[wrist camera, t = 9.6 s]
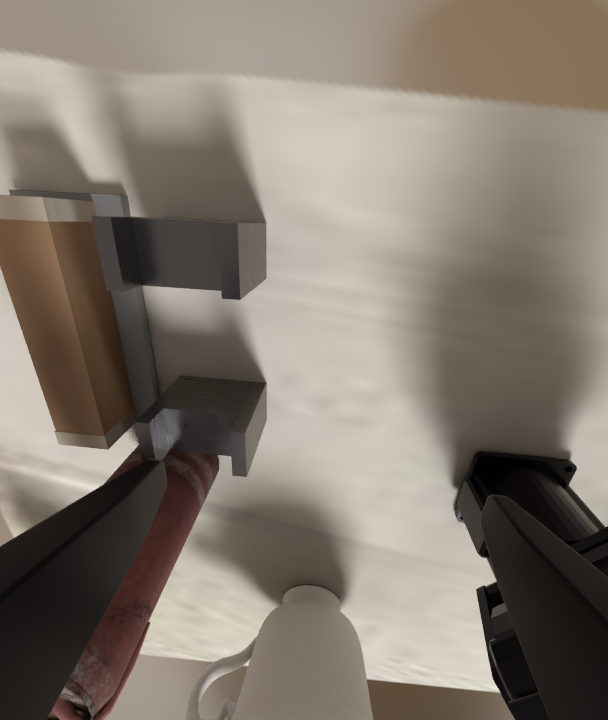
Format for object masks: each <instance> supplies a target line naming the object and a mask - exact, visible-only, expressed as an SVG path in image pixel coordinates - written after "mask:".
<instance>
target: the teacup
mask: <svg viewBox="0 0 608 720" xmlns="http://www.w3.org/2000/svg"><path fill="white" fill-rule="evenodd" d="M340 610H341V605H340V601H339V599H338V597H337V596H336V595H335V594H333V593H332V592H331V591H329V590H327V589H325V588H322V587H319V586H315V585H301V586H296V587H293V588H291V589H289V590H288V591H287V592H286V593H285V594H284V596H283V600H282V605H280V606H279V607H277V608H275V609H274V610H273V611H272V612H271V613H270V614H269V615H268V616H267V618H266V619H265V621H264V622H263V624H262V627H261V629H260V631H259V634H258V636H257V637H256V638H255V639H254V640H253V641H252V643H251V644H250V645H249V646H248V647H247V648H246V649H244V650H243V651H242V652H240V653H238V654H236V655H233V656H230V657H226V658H222V659H220V660H218V661H216V662H214V663H213V664H211V665H210V666H208V667H207V668H206V669H205V670H204V672H202V674H201V675H200V677H199V678H198V679H197V681H196V683H195V684H194V686H193V689H192V691H191V694H190V697H189V701H188V707H187V714H186V720H203V719H201V717H200V716H199V711H198V708H199V702H200V699H201V697H202V695H203V693H204V691H205V690H206V689H207V687H208V686H209V685H210V684H211V683H212V682H213V681H214V680H215V679H216V678H218V677H219V676H221V675H224V674H226V673H229V672H232V671H234V670H236V669H238V668H240V667H241V666H243V665H244V664H245V663H246V662H247V661H248V660H249V659H250V658H251V659H250V662H249V666H248V669H247V672H246V676H245V679H244V684H243V686H242V690H241V693H240V696H239V699H238V702H237V704H233V703H231V702H230V700H229V699H228V698H226V699H224V701H223V702H222V704H221V706H220V709H219V711H218V713H217V715H216V716H215V717H214V718H213V719H212V720H224V718H225V716H226V715H227V716H228V720H373V716H372V711H371V705H370V698H369V692H368V686H367V679H366V672H365V666H364V660H363V655H362V650H361V645H360V642H359V638H358V635H357V632H356V630H355V628H354V626H353V625H352V623H351V622H350V620H349V619H348V618H347V617H346V616H345V615H344V614H342V613H341V612H340Z"/></svg>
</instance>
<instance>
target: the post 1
mask: <svg viewBox="0 0 608 720" xmlns="http://www.w3.org/2000/svg"><path fill="white" fill-rule="evenodd" d="M91 217H92V222H93V226H94V231H95V236H96V241H97V246H98V250H99V255H100V260H101V265H102V269H103V274H104V279H105V284H106V289H107V291H121V292H125V291H128V290H131V289H134V288H137V287H140V286H143V285H145V286H160V287H175V288H189V289H204V290H219V291H222V299H237V300H241V299H242V298H243V297H244V296H245V295H247V294H248V293H249V292H250V291H252V290H253V289H254V288H255V287H257V286H258V285H259V284H260V283H261V282H263V281H264V280H265V279H266V223H256V222H237V221H218V220H199V219H180V218H161V217H122V216H91Z"/></svg>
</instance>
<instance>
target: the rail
mask: <svg viewBox="0 0 608 720" xmlns="http://www.w3.org/2000/svg"><path fill="white" fill-rule="evenodd" d="M91 216H97V215H96V210H95V205H94V201H82V200H70V199H58V198H46V197H29V196H8V195H0V267H1V270H2V273H3V276H4V279H5V282H6V285H7V288H8V291H9V294H10V296H11V299H12V302H13V305H14V308H15V311H16V314H17V317H18V320H19V323H20V326H21V329H22V332H23V335H24V338H25V341H26V344H27V347H28V350H29V353H30V356H31V359H32V362H33V365H34V367H35V370H36V373H37V376H38V379H39V382H40V385H41V388H42V391H43V394H44V397H45V400H46V403H47V406H48V409H49V412H50V415H51V418H52V421H53V424H54V427H55V430H56V431H55V434H56V437H57V440H58V443H59V444H60V445H70V446H80V447H89V448H99V449H109V448H110V447H111V446H112V445H113V444H114V443H115V442H116V441H117V440H118V439H119V438H120V437H121V436H122V435H123V434H124V433H125V432H126V431H127V430H128V429H129V428H130V427H131V426H132V425H133V424H134V422H135V421H136V420H137V419H138V416H137V411H136V408H135V407H134V402H133V397H132V392H131V388H130V383H129V378H128V373H127V368H126V363H125V358H124V354H123V349H122V344H121V339H120V334H119V329H118V324H117V319H116V315H115V310H114V305H113V300H112V295H111V291H107V289H106V284H105V279H104V274H103V269H102V265H101V260H100V255H99V250H98V246H97V241H96V236H95V231H94V226H93V222H92V217H91Z"/></svg>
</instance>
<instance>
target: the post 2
mask: <svg viewBox="0 0 608 720" xmlns="http://www.w3.org/2000/svg"><path fill="white" fill-rule="evenodd" d="M266 420H267V411H266V383H257V382H245V381H233V380H222V379H210V378H199V377H187V376H180V377H179V378H178V379H177V380H176V381H175V382H174V383H173V384H172V385H171V386H170V387H169V388H168V389H167V390H166V391H165V392H164V393H163V394H162V395H161V396H160V397H159V398H158V399H157V400H156V401H155V402H154V403H153V404H152V405H151V406H150V407H149V408H148V409H147V410H146V411H145V412H144V413H143V414H142V415H141V416H140V417H139V418H138V419H137V420H136V421H135V422H134V423H135V427H136V432H137V437H138V442H139V447H140V451H141V456H142V461H144V460H146V459H159V460H163V458H164V457H165V456H166V454H167V453H168V452H169V450H176V451H186V452H195V453H205V454H215V455H225V456H231V457H232V473H233V476H243V477H247V475H248V472H249V469H250V466H251V463H252V460H253V457H254V454H255V452H256V449H257V446H258V443H259V440H260V437H261V434H262V432H263V429H264V426H265V423H266Z"/></svg>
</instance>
